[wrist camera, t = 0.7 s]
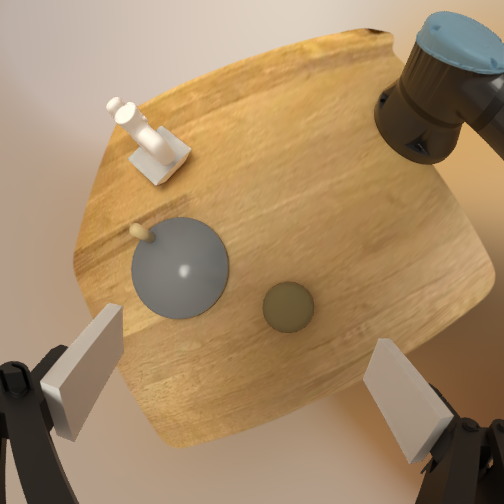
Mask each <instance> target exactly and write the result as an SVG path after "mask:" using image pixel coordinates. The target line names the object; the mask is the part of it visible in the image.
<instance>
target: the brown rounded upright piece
mask: <svg viewBox="0 0 504 504" xmlns="http://www.w3.org/2000/svg"><path fill="white" fill-rule="evenodd" d="M263 312H264V317H265V319H266V320H267V322H268V324H269V325H270V326H272V327H273V328H274V329H276V330H278V331H280V332H284V333H292V332H297V331H299V330H301V329H303V328H304V327H305V326H306V325H307V324H308V323H309V322H310V320H311V318H312V316H313V313H314V302H313V298H312V296H311V294H310V293H309V291H308V290H307V289H306V288H305V287H303V286H302V285H300V284H297V283H294V282H284V283H279V284H278V285H276V286H274V287H273V288H272V289H271V290H270V291H269V292H268V293H267V295H266V297H265V299H264V303H263Z"/></svg>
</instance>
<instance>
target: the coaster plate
mask: <svg viewBox="0 0 504 504" xmlns="http://www.w3.org/2000/svg"><path fill="white" fill-rule="evenodd" d="M129 231H130V233H131V234H132V235H133V236H135V237H137V238H139V239H141V240H140V242H139V243H138V245H137V247H136V250H135V252H134V256H133V260H132V269H131V270H132V280H133V284H134V287H135V290H136V292H137V294H138V296H139V298H140V299H141V300H142V302H143V303H144V304H145V305H146V306H147V307H148V308H149V309H150V310H152V311H153V312H155V313H156V314H158V315H161V316H163V317H166V318H171V319H185V318H191V317H194V316H197V315H200V314H201V313H203V312H205V311H207V310H208V309H209V308H211V307H212V306H213V305H214V304H215V303H216V301H217V300H218V299H219V298H220V296H221V294H222V293H223V291H224V288H225V286H226V283H227V279H228V273H229V262H228V256H227V252H226V249H225V247H224V245H223V243H222V241H221V240H220V238H219V237H218V236H217V234H216V233H215V232H214V231H213V230H212V229H211V228H210V227H208V226H207V225H205V224H204V223H202V222H200V221H198V220H195V219H191V218H185V217H177V218H171V219H167V220H164V221H162V222H160V223H158V224H156V225H155V226H153V227H152V228H151V229H150V230H148V229H146V228H144V227H143V226H141V225H139V224H138V223H134V224H132V225H131V226H130V229H129Z"/></svg>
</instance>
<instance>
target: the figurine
mask: <svg viewBox="0 0 504 504" xmlns="http://www.w3.org/2000/svg"><path fill="white" fill-rule="evenodd" d="M106 109H107V111H108V112H109V114H110V115H111V116H112V117H113V118H114V120H115V121H116V122H117V123H118V124H119V125H120V126H121V127H122V128H123V129H125V130H126V131H127V132H128V133H129V134H130V136H131V137H132V138H133V139H134V140H135V141H136V142H137V143H138V145H139V146H140V147H139V148H138V149H137V150H136V151H135V152H134V153H133V154H132V155H131V156H130V157H129V158H128V160H129V161H130V162H131V163H132V164H133V165H134V166H135V167H136V168H137V169H138V170H140V171H141V172H142V173H143V174H144V175H145V176H146V177H147V178H148V179H149V180H150V181H151V182H152V183H153V184H154V185H155V186H156V185H159V184H161V183H164V182H166V181H167V180H168V179H169V178H170V177H171V176H172V174H173V173H174V172H175V171H176V170H177V169H178V168H179V167H180V166H181V165H182V164H183V163H184V162H185V161H186V159H187V157H188V155H189V153H190V151H191V148H190V147H188V146H187V145H186V144H185V143H183V142H182V141H181V140H180V139H178V138H177V137H176V136H174V135H173V134H172V133H171V132H169V131H168V130H167V129H165V128H164V127H163V126H162V125H161V126H160V127H159V128H158V129H157V130H156V131H154V130H153V129H152V128H151V127H150V125H149V124H148V123H147V122H148V120H147V119H146V117H145V116H144V115H143V113H141V112H140V110H139V109H138V108H137V106H136V105H135V104H134V103H132V102H128V103H127V105H125V103H124V102H123V101H122V100H121V98H119V97H115V98H113V99H111V100H110V101H109V102H108V104H107V106H106Z"/></svg>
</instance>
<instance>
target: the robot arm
mask: <svg viewBox="0 0 504 504" xmlns="http://www.w3.org/2000/svg"><path fill="white" fill-rule="evenodd" d="M375 121H376V124H377V127H378V129H379V131H380V133H381V135H382V136H383V138H384V139H385V140H386V142H387V143H388V144H389V145H390V146H391V147H392V148H393V149H394V150H395V151H397V152H398V153H399V154H401V155H402V156H404V157H406V158H407V159H410V160H412V161H414V162H418V163H422V164H435V163H439V162H441V161H443V160H444V159H445V158H447V157H448V156H449V154H450V153H451V152H452V151H453V150H454V148H455V146H456V144H457V140H458V137H459V134H460V130H461V127H462V124H463V123H464V122H466V123H467V124H468V125H469V126H470V127H471V128H473V129H474V130H475V131H476V132H477V133H478V134H479V135H480V136H481V137H482V138H483V139H484V140H485V141H486V142H487V143H488V144H489V145H490V146H491V147H492V148H493V149H494V150H495V152H496V153H497V154H498V155H499V156H500V157H501V158H502V159H503V160H504V43H502V42H501V39H500V38H499V37H498V36H497V35H496V34H495V33H494V32H492V31H491V30H490V29H489V28H487V27H485V26H484V25H482V24H481V23H479V22H477V21H476V20H474V19H471V18H469V17H467V16H464V15H461V14H458V13H453V12H447V11H446V12H445V11H442V12H436V13H433V14H431V15H430V16H429V17H428V18H427V19H426V21H425V23H424V25H423V27H422V29H421V30H420V31H419V32H418V34H417V38H416V42H415V44H414V47H413V49H412V51H411V54H410V56H409V58H408V61H407V63H406V65H405V68H404V70H403V72H402V74H401V77H400V78H399V79H397V80H396V81H395V82H394V83H392V84H391V85H390V86H389V87H387V88H386V89H385V90H384V91H383V92H382V93H381V95H380V97H379V99H378V101H377V104H376V106H375ZM123 353H124V348H123V306H121V305H116V304H111V303H108V304H107V305H106V306H105V307H104V308H103V310H102V311H101V312H100V313H99V314H98V315H97V316H96V317H95V318H94V319H93V320H92V322H91V323H90V324H89V325H88V326H87V327H86V328H85V329H84V330H83V332H82V333H81V334H80V335H79V336H78V337H77V338H76V340H75V341H74V342H73V343H72V344H71V345H70V346H69V347H67V346H64V345H59V346H57V347H55V348H53V349H51V350H50V351H49V353H48V354H47V355H46V356H45V357H44V358H43V359H42V360H41V362H40V363H38V364H37V366H36V367H35V368H34V369H33V370H32V371H31V372H30V371H29V369H28V367H27V366H26V365H25V364H23V363H21V362H18V361H15V362H14V361H10V362H7V363H4V364H2V365H1V366H0V504H6V492H5V463H6V444H7V439H10V443H11V448H12V452H13V457H14V460H15V465H16V468H17V472H18V475H19V479H20V482H21V485H22V489H23V491H24V495H25V498H26V501H27V503H28V504H79V502H78V501H77V498H76V496H75V494H74V492H73V490H72V488H71V486H70V483H69V481H68V479H67V477H66V474H65V472H64V470H63V467H62V465H61V462H60V460H59V457H58V454H57V452H56V449H55V446H54V444H53V441H52V438H51V435H50V431H51V429H52V427H53V426H54V428H55V430H56V433H57V435H58V436H60V437H63V438H66V439H68V440H71V441H73V442H74V441H75V440H76V438H77V436H78V434H79V432H80V430H81V428H82V426H83V424H84V422H85V421H86V419H87V417H88V415H89V413H90V411H91V409H92V408H93V406H94V404H95V402H96V400H97V399H98V397H99V395H100V393H101V391H102V389H103V388H104V386H105V384H106V382H107V381H108V379H109V377H110V375H111V374H112V372H113V370H114V368H115V367H116V365H117V363H118V361H119V360H120V358H121V356H122V355H123ZM363 381H364V382H365V384H366V386H367V388H368V390H369V391H370V393H371V395H372V397H373V399H374V400H375V402H376V404H377V406H378V408H379V409H380V411H381V413H382V415H383V416H384V418H385V420H386V422H387V424H388V426H389V427H390V429H391V431H392V433H393V435H394V437H395V439H396V440H397V442H398V444H399V446H400V448H401V450H402V452H403V453H404V455H405V457H406V459H407V461H408V463H409V464H412V463H417V462H420V461H423V460H424V459H425V457H426V456H427V454H428V453H429V452H430V453H431V455H432V456H433V457H432V458H431V460H430V461H429V462H428V463H427V465H426V466H425V467H424V468H423V470H422V471H421V474H422V473H423V472H424V471H425V470H426V473H425V476H424V479H423V483H422V485H421V488H420V491H419V494H418V497H417V500H416V503H415V504H504V420H501V419H495V420H493V422H492V424H491V425H490V426H489V428H482V427H480V426H479V424H478V423H477V422H476V421H474V420H472V419H470V418H460V416H459V415H458V414H457V413H456V411H455V410H454V409H453V408H452V407H451V405H450V404H449V403H448V402H447V400H446V399H445V398H444V397H442V394H441V393H440V392H439V390H438V389H436V388H435V387H434V386H432V385H431V384H430V383H427V382H426V380H425V379H424V378H423V377H422V376H421V374H420V373H419V372H418V371H417V370H416V368H415V367H414V366H413V365H412V364H411V362H410V361H409V360H408V359H407V358H406V356H405V355H404V354H403V353H402V352H401V350H400V349H399V348H398V347H397V346H396V345H395V343H394V342H393V341H392V340H391V339H390V338H378V341H377V344H376V347H375V349H374V352H373V354H372V357H371V360H370V362H369V365H368V367H367V370H366V372H365V375H364V377H363ZM492 459H493V465H492V466H491V467H489V463H490V461H491V460H492Z"/></svg>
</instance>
